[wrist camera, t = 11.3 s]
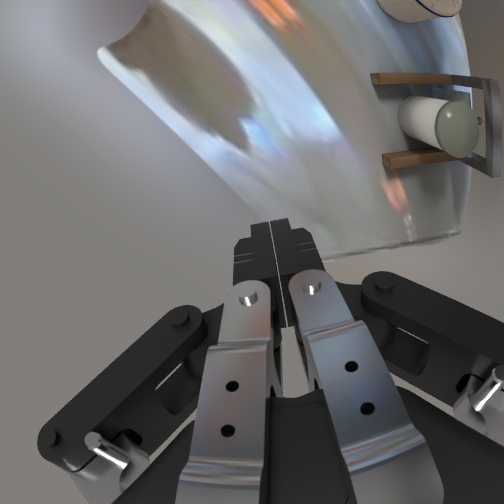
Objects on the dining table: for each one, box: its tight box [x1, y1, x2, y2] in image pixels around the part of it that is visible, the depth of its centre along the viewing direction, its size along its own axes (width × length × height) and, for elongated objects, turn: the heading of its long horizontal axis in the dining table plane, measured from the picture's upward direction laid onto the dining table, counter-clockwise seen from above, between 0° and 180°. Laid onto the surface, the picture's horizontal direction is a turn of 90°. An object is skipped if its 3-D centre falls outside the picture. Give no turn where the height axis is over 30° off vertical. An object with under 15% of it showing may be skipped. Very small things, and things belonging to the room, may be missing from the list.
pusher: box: [432, 88, 482, 158], centre depth 28 cm, size 9×6×8 cm, turn 14°
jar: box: [398, 95, 479, 158], centre depth 28 cm, size 7×7×10 cm
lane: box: [370, 73, 502, 178], centre depth 27 cm, size 13×14×10 cm
